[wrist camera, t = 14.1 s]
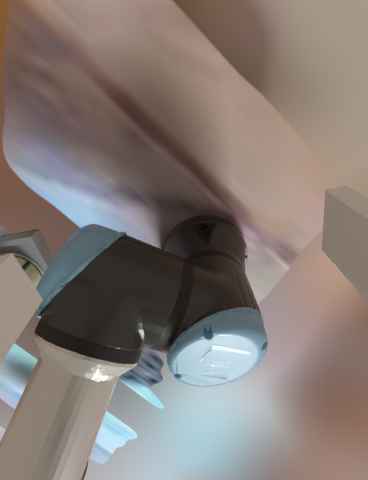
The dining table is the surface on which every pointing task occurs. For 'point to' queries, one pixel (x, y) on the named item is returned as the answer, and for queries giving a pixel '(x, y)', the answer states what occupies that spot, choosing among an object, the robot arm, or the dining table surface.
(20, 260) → the coffee can
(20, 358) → the dining table surface
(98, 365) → the robot arm
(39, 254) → the holder tray
